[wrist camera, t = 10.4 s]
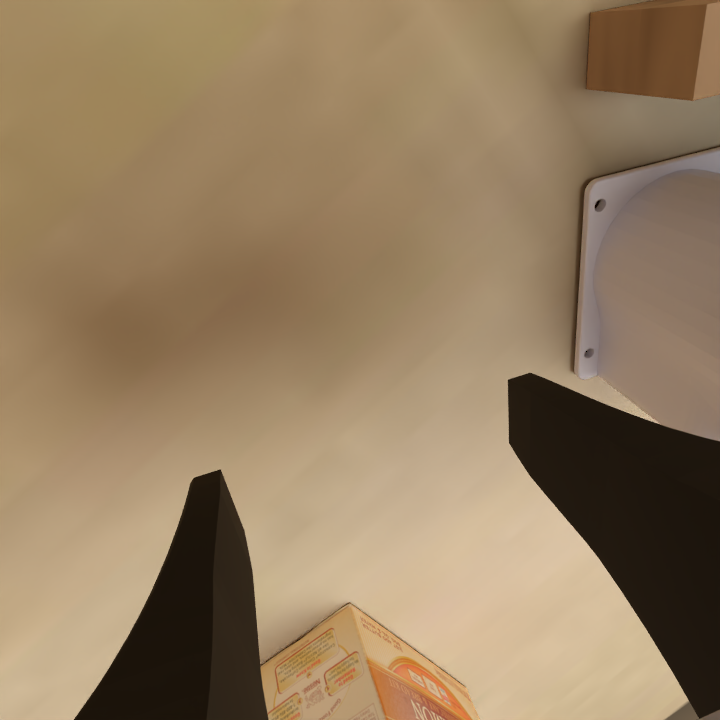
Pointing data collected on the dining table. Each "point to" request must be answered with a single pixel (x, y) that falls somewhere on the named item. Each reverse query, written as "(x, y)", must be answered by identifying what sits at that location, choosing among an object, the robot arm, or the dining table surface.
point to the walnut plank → (656, 49)
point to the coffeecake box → (359, 677)
